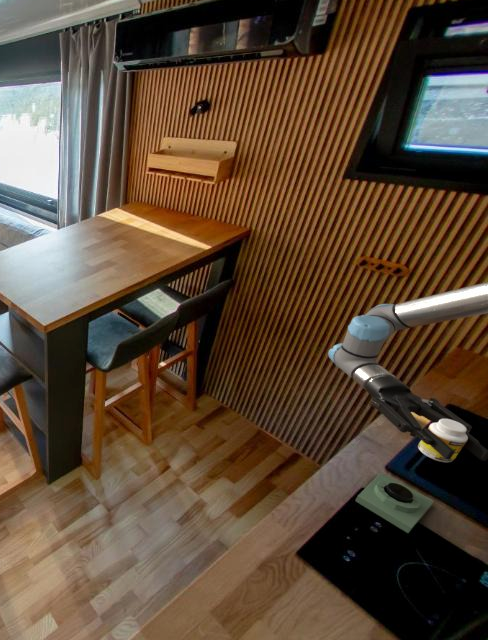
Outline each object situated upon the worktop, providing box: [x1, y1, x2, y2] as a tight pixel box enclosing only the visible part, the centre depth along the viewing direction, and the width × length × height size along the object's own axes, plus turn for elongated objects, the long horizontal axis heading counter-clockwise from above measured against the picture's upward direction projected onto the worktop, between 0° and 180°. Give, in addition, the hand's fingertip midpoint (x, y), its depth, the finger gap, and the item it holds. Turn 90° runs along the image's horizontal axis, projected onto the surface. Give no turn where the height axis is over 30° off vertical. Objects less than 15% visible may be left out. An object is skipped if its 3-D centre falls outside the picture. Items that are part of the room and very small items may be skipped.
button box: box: [354, 472, 435, 534], centre depth 88 cm, size 12×9×4 cm
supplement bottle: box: [417, 419, 468, 463], centre depth 87 cm, size 6×6×10 cm
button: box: [385, 483, 413, 503], centre depth 87 cm, size 4×4×2 cm
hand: (468, 455), depth 82 cm, fingers closed on supplement bottle, 6 cm apart
